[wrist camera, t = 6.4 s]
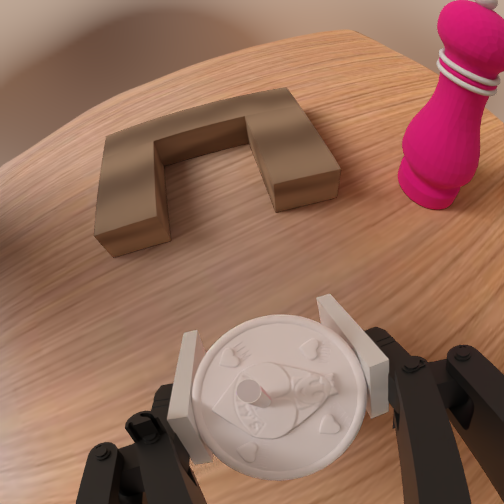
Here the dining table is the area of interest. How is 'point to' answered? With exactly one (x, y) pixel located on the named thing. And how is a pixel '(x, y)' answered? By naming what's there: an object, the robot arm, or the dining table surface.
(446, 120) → the pepper mill
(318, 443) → the smoothie
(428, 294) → the dining table surface
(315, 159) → the notched board
